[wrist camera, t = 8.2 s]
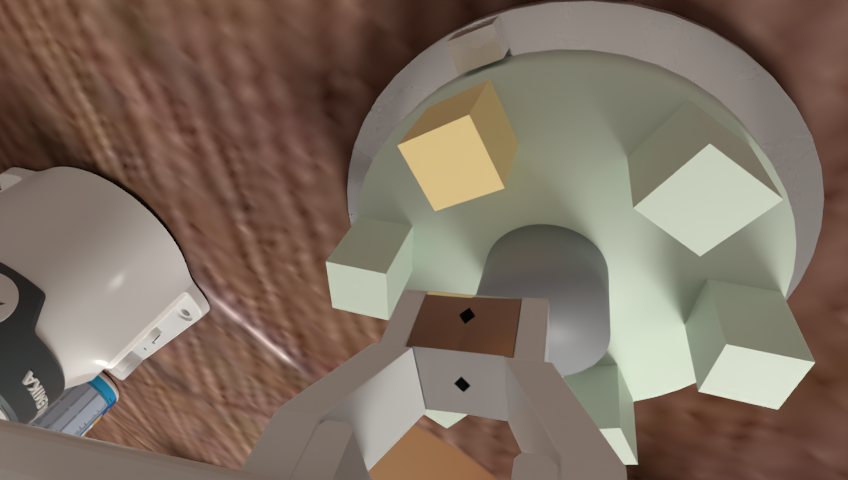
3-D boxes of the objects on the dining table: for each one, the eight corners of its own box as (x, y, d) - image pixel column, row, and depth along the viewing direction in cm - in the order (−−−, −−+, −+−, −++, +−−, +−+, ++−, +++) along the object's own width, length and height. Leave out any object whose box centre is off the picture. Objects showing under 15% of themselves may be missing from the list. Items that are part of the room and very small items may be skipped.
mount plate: (548, 416, 36) (545, 449, 34) (293, 222, 32) (270, 246, 30) (937, 249, 21) (976, 289, 19) (554, -152, 17) (548, -159, 15)
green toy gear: (809, 354, 24) (862, 466, 20) (464, 389, 34) (442, 469, 30) (728, -56, 16) (785, -36, 11) (304, 149, 26) (239, 206, 21)
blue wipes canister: (121, 377, 54) (-68, 569, 39) (123, 409, 59) (-43, 589, 44) (56, 343, 54) (-161, 522, 38) (64, 378, 59) (-124, 548, 44)
